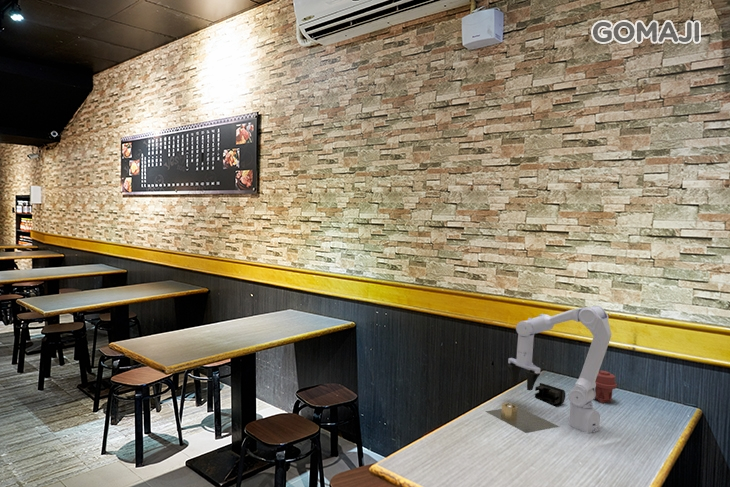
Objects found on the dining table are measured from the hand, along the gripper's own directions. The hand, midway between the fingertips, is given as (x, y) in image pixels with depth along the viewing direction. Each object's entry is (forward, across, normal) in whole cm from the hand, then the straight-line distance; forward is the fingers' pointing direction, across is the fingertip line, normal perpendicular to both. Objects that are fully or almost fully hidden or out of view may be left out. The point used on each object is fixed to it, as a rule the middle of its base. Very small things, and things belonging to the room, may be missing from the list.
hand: (522, 386), depth 186 cm
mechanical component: (+10, -3, -44) cm, 45 cm away
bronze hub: (+8, -6, +12) cm, 15 cm away
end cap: (+10, +3, -19) cm, 22 cm away
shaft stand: (+9, -9, +9) cm, 16 cm away
